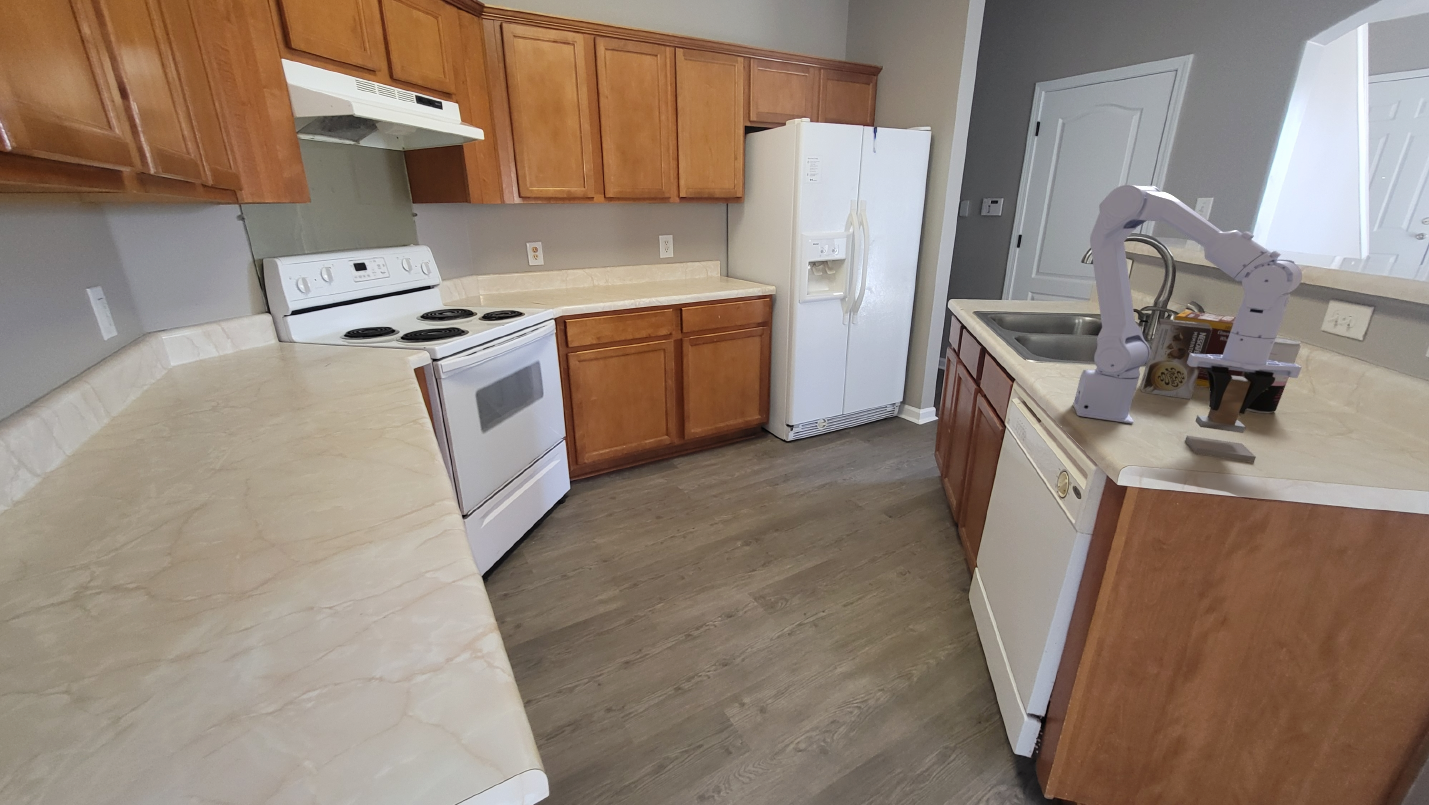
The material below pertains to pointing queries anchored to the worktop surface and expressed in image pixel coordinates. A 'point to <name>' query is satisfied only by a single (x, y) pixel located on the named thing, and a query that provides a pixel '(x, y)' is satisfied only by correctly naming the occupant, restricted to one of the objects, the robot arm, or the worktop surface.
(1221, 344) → the supplement box
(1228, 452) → the tile
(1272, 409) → the beverage can
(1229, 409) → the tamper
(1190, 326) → the coffee box
